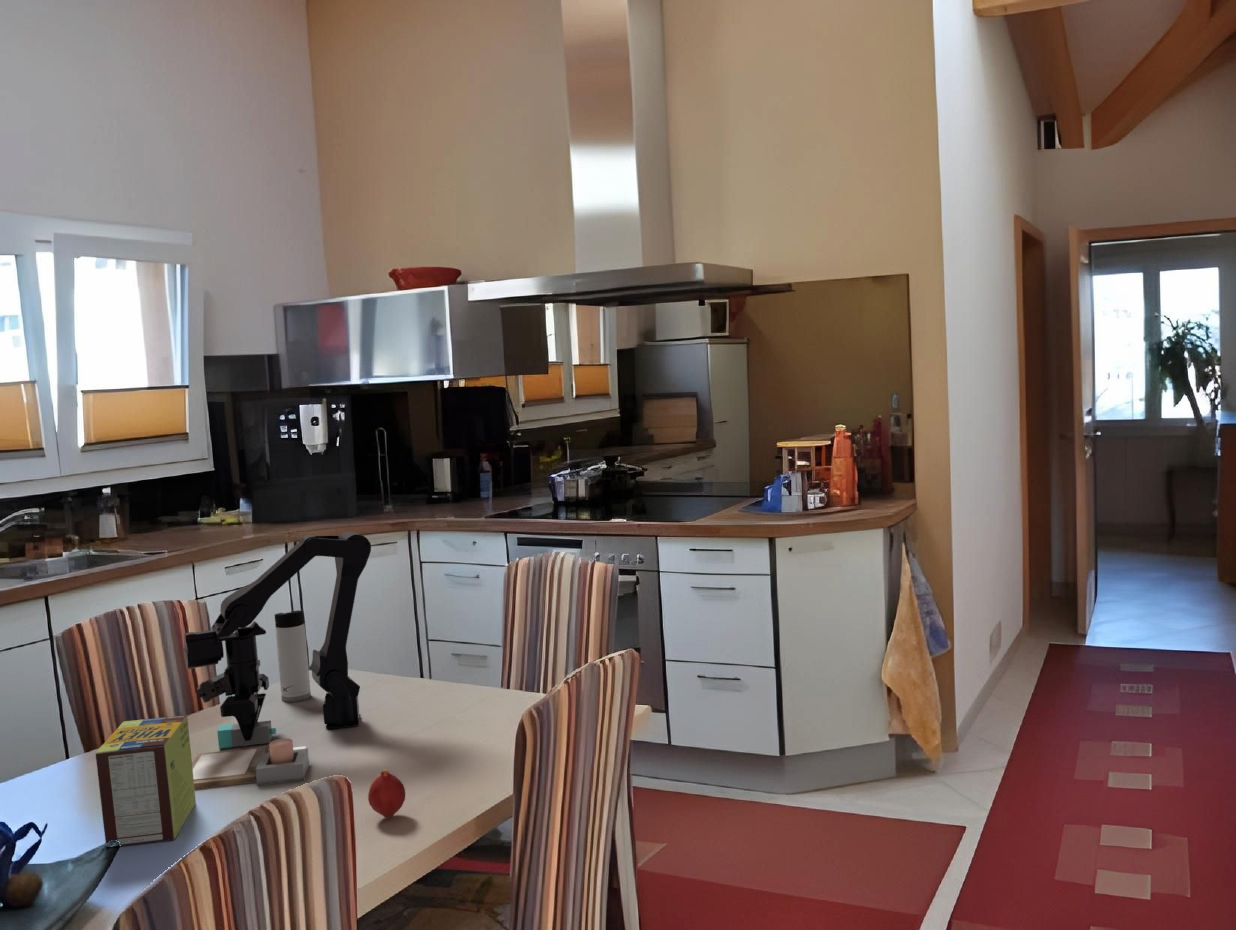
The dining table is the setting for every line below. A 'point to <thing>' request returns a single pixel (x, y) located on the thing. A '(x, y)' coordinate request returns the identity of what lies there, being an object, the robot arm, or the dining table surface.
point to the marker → (234, 737)
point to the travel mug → (292, 656)
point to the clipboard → (226, 767)
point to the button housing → (282, 769)
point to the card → (299, 748)
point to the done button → (281, 751)
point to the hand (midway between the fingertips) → (249, 737)
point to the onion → (386, 794)
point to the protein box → (146, 780)
